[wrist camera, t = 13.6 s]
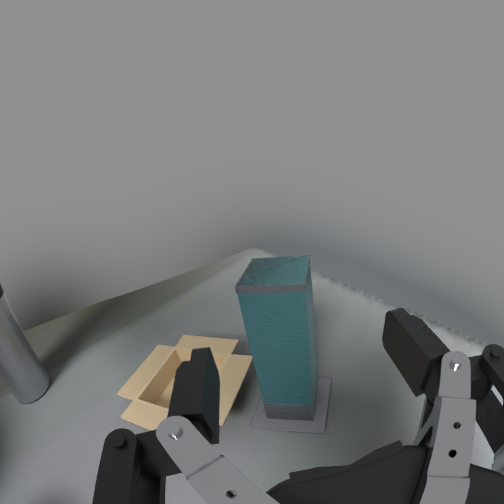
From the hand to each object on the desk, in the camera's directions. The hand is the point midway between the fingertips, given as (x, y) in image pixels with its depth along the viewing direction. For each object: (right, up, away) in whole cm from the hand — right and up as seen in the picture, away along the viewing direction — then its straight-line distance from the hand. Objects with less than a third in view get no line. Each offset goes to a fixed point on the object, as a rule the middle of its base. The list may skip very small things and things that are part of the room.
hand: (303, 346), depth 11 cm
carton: (-10, -14, +20) cm, 26 cm away
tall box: (+3, -13, +16) cm, 21 cm away
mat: (+3, -13, +16) cm, 21 cm away
